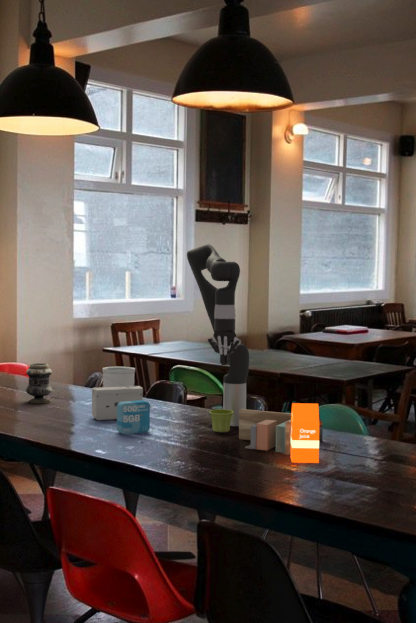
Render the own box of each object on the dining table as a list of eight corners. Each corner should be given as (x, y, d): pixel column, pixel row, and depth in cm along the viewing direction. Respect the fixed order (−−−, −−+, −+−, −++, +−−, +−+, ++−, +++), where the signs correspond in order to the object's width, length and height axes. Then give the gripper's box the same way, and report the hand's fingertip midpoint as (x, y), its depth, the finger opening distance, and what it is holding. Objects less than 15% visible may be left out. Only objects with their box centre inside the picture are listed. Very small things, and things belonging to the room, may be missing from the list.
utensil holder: (117, 402, 396) (117, 365, 395) (141, 405, 387) (141, 367, 386) (95, 406, 384) (95, 368, 383) (120, 410, 375) (120, 371, 374)
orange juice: (290, 460, 281) (291, 401, 280) (316, 461, 281) (317, 401, 280) (291, 466, 273) (292, 405, 272) (319, 466, 273) (320, 405, 272)
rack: (240, 441, 310) (240, 408, 310) (304, 448, 299) (304, 414, 299) (221, 450, 296) (221, 415, 295) (288, 457, 285) (288, 422, 284)
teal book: (286, 446, 298) (286, 421, 297) (295, 447, 296) (295, 422, 295) (275, 451, 289) (275, 425, 288) (285, 453, 287) (285, 426, 287)
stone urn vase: (49, 404, 389) (49, 365, 388) (23, 403, 389) (23, 365, 388) (54, 399, 401) (54, 362, 400) (29, 399, 401) (28, 362, 400)
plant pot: (238, 433, 325) (238, 411, 325) (222, 437, 318) (222, 414, 318) (220, 430, 331) (220, 408, 331) (204, 433, 325) (204, 411, 324)
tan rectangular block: (256, 449, 292) (256, 423, 292) (266, 444, 300) (266, 419, 300) (267, 450, 291) (267, 424, 290) (276, 445, 299) (276, 420, 298)
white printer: (139, 415, 362) (139, 369, 361) (144, 419, 354) (144, 371, 353) (91, 418, 356) (91, 371, 354) (95, 421, 348) (95, 373, 347)
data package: (121, 434, 321) (121, 403, 320) (116, 432, 325) (116, 401, 324) (149, 432, 327) (150, 401, 326) (145, 430, 331) (145, 399, 330)
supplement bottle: (323, 443, 309) (324, 412, 308) (320, 446, 303) (321, 415, 303) (307, 442, 311) (308, 411, 310) (304, 445, 305) (304, 414, 305)
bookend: (256, 442, 303) (256, 420, 302) (266, 443, 301) (267, 421, 300) (245, 448, 294) (245, 425, 293) (255, 449, 292) (256, 426, 291)
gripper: (203, 317, 302) (203, 365, 303) (237, 318, 297) (236, 367, 298) (212, 316, 309) (212, 362, 310) (245, 317, 303) (245, 365, 304)
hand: (224, 365), depth 304 cm, fingers closed
